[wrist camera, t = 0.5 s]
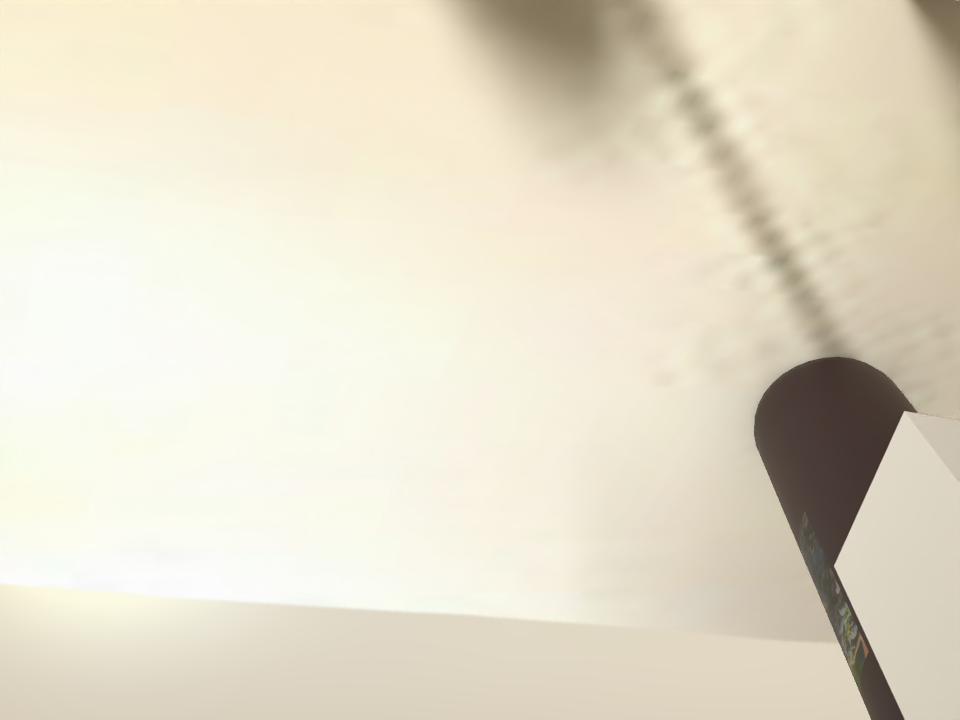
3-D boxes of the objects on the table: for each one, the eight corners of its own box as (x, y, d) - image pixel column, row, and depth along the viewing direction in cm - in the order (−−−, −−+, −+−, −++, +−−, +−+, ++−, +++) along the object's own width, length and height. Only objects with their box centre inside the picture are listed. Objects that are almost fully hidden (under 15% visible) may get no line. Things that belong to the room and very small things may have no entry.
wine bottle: (726, 396, 41) (1067, 1250, 14) (864, 327, 39) (1571, 1180, 12) (787, 496, 43) (1177, 1388, 17) (920, 437, 41) (1613, 1349, 15)
